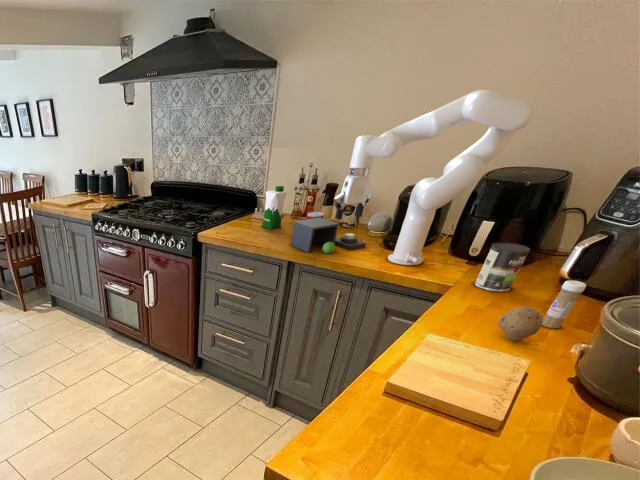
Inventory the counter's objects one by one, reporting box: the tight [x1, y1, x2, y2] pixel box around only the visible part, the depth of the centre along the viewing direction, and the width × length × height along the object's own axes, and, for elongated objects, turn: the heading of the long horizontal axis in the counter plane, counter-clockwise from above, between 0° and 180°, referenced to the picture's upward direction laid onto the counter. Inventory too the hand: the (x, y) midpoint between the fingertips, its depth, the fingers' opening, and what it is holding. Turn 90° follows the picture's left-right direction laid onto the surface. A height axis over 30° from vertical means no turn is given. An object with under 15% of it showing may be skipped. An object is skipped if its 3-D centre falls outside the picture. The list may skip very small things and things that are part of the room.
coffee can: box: [474, 242, 531, 293], centre depth 144 cm, size 10×10×14 cm
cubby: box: [289, 218, 340, 253], centre depth 191 cm, size 13×14×11 cm
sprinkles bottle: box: [542, 279, 587, 329], centre depth 119 cm, size 5×5×13 cm
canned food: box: [305, 211, 325, 220], centre depth 204 cm, size 8×8×11 cm
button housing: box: [334, 235, 366, 251], centre depth 192 cm, size 12×9×4 cm
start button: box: [344, 232, 356, 239], centre depth 191 cm, size 4×4×2 cm
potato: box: [497, 306, 544, 342], centre depth 115 cm, size 9×9×10 cm
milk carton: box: [261, 185, 288, 230], centre depth 219 cm, size 9×9×20 cm
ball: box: [322, 242, 336, 254], centre depth 184 cm, size 5×5×5 cm
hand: (348, 217), depth 171 cm, fingers open, 9 cm apart
